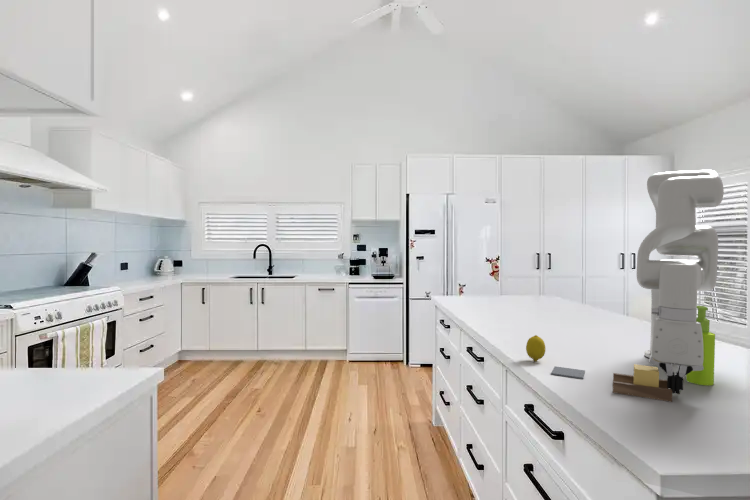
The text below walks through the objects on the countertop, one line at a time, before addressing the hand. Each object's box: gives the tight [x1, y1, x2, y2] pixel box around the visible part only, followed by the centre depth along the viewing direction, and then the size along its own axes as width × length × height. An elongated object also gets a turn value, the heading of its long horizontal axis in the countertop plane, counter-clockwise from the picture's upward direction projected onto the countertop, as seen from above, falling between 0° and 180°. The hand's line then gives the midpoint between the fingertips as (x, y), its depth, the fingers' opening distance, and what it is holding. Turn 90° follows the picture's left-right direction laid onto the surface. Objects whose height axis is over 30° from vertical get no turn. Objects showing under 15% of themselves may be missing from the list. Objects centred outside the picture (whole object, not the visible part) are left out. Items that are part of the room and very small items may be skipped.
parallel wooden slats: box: [612, 372, 673, 403], centre depth 110 cm, size 9×12×2 cm
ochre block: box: [633, 363, 660, 388], centre depth 109 cm, size 5×5×6 cm
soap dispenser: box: [685, 305, 716, 387], centre depth 119 cm, size 6×7×20 cm
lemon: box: [525, 334, 546, 362], centre depth 137 cm, size 6×6×8 cm
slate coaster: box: [550, 366, 586, 380], centre depth 124 cm, size 8×8×1 cm
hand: (674, 391), depth 106 cm, fingers closed
